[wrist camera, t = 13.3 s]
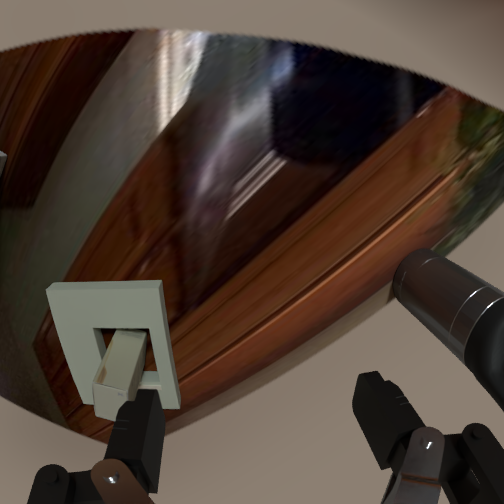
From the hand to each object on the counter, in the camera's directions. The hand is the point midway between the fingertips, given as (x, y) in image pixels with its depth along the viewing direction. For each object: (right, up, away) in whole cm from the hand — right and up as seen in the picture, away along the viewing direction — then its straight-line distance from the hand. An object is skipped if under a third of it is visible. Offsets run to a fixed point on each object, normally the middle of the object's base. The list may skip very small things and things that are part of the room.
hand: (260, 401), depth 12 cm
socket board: (-19, -8, +30) cm, 37 cm away
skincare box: (-17, -7, +30) cm, 36 cm away
